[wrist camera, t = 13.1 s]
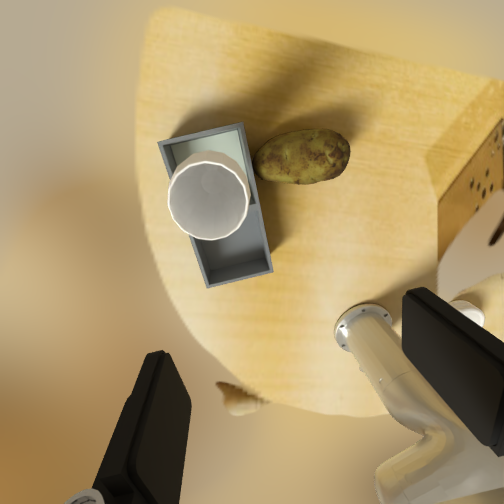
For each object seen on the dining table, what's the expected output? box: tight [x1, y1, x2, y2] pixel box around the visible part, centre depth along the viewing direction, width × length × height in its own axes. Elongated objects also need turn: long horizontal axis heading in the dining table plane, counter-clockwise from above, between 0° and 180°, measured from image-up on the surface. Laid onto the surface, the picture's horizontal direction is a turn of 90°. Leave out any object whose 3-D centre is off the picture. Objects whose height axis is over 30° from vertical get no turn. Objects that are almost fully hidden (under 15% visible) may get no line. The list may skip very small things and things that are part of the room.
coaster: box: [448, 300, 485, 327], centre depth 56 cm, size 10×10×4 cm
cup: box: [168, 150, 251, 240], centre depth 29 cm, size 7×7×21 cm
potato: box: [252, 129, 350, 185], centre depth 36 cm, size 8×13×8 cm, turn 79°
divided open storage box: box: [157, 122, 274, 288], centre depth 39 cm, size 22×11×6 cm, turn 12°
